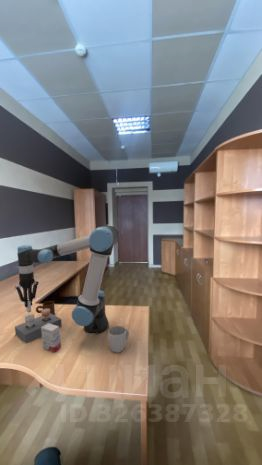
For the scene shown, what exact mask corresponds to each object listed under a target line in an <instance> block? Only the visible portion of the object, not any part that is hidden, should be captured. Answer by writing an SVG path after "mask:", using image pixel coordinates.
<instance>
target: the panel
mask: <svg viewBox="0 0 262 465" xmlns="http://www.w3.org/2000/svg"><path fill="white" fill-rule="evenodd" d="M48 323H50V324H53V325H56V326H59V329H60V328H62V326H63V324H62V318H60V317H58V316H56V314H55V315H53V314H51V313H50V315H49V320H48V321H46V322H44V316H42V315H41V316H39V317H35V320H34V321H33V327H32V328H29V329H28V325H27V323H26V322H25V321H24V322H23V323H21V324H17V325H15V326H14V332H15V336H17V337H18V338H19V339H20V340H21V341H22V342H24V344H28V343H30V342H32V341H34V340H37V339H38V338H42V331H41V327H42V326H44V325H46V324H48Z"/></svg>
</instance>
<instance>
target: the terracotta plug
mask: <svg viewBox="0 0 262 465" xmlns="http://www.w3.org/2000/svg"><path fill="white" fill-rule="evenodd" d="M41 310H42V313H41V316H44V322H46V321H48V320H49V315H50V309H49V308H47V309H43V308H42V309H41Z"/></svg>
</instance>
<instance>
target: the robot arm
mask: <svg viewBox="0 0 262 465" xmlns="http://www.w3.org/2000/svg"><path fill="white" fill-rule="evenodd" d="M119 240H120V232H119V230H118V229H117V228H116V227H115V226H113V225H105V226H99V227H96V228H95V229H94V230H92V232H91V233H90V234H89V235H84V236H80V237H78V238H74V239H71V240H68V241H64V242H61V243H58V244H54V245H51V246H47V247H44V248H41V249H40V248H39V249H37V248H36V249H35V248H33V246H32V245H31V244H27V245H19V246H18V247H17V260H18V261H17V263H18V279H19V280H18V281H19V283H18V284H17V285H15V286H14V289H15V290H16V291H17V294H18V297H19V300H20V302H22V303H23V304H24V307H25V310H26V312H27V313H29V314H30V313H32V306H33V301H34V299H36V296H37V290H38V285H39V283H40V282H39V281H37V280H36V279H35V273H34V263H35V264H36V263H39V264H49V263H51V262H52V261H53V259H55V258H59V257H62V256H67V255H70V254H72V253H73V254H74V253H76V252H80V251H84V250H87V249H89V252H90V253H91V256H90V259H89V263H88V268H87V273H86V276H85V280H84V285H83V289H82V294H80V295H79V296H78V297H77V298H78V299H77V300H76V304H75V305H76V306H75V307H74V308H73V309H72V311H71V318H72V320H73V321H74V323H75V324H76V325H78V326H80V327H83V330H84V332H85V333H87V334H90V335H92V334H93V335H98V334H102V333H104V332H106V331H107V330H109V327H110V326H109V320H108V317H107V315H106V314H107V313H106V294H105V292H104V291H103V290H102V289H101V286H102V281H103V277H104V273H105V269H106V266H107V261H108V258H109V257H111V256H112V255H113V254H112V253H113V250H114V247H115V245H116V244H117V243H119ZM21 288H22V289H21ZM22 290H23V291H22Z"/></svg>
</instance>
